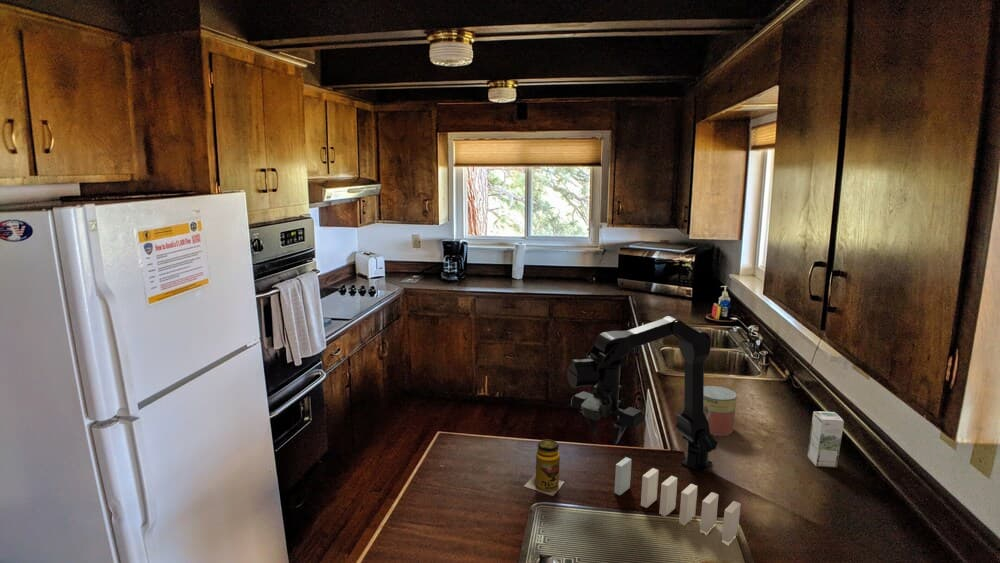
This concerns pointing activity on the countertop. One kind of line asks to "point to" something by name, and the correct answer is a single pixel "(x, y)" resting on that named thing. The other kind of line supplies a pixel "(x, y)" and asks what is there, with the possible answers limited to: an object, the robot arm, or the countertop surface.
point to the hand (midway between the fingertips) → (604, 439)
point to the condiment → (546, 468)
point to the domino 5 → (709, 512)
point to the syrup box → (825, 439)
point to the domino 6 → (731, 521)
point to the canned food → (719, 409)
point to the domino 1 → (622, 476)
